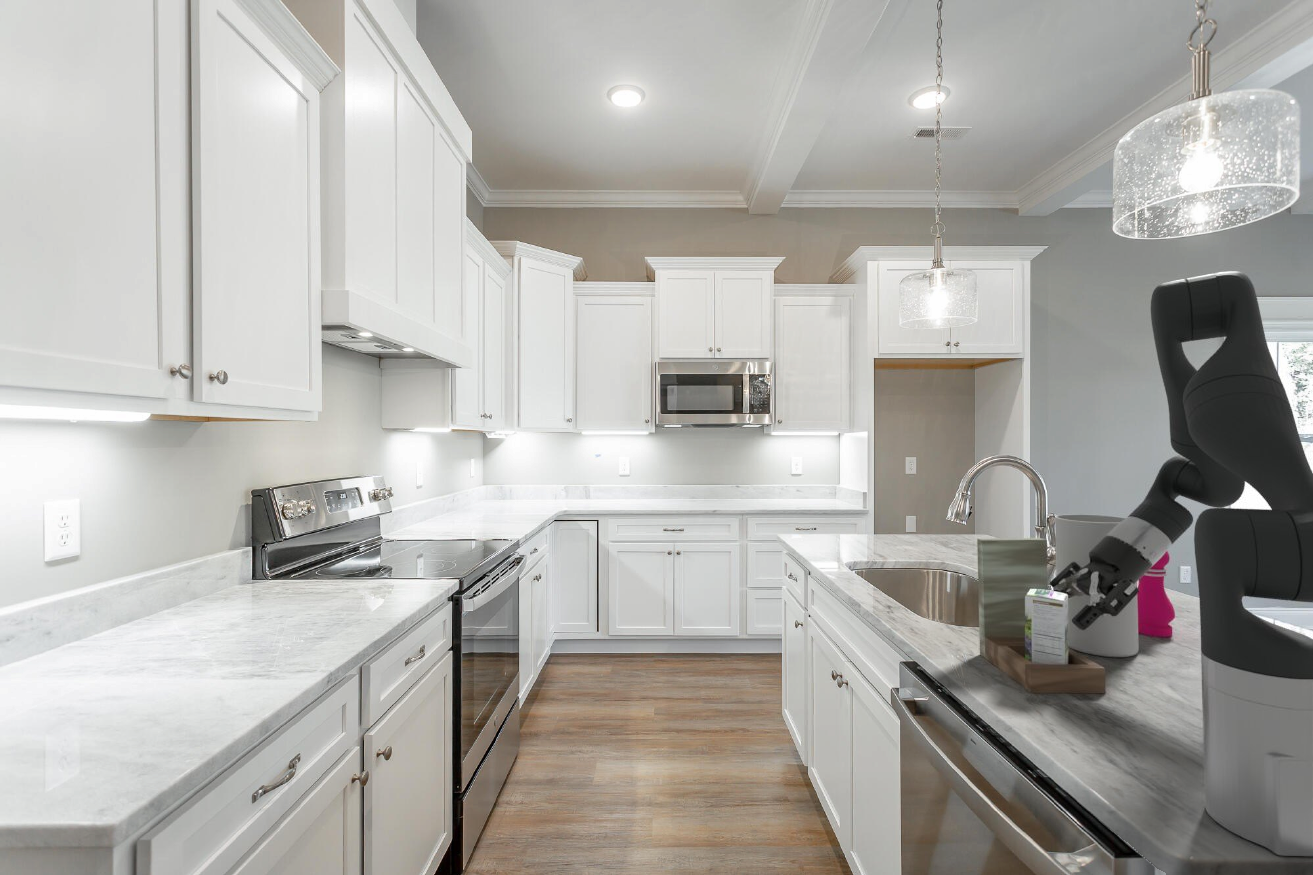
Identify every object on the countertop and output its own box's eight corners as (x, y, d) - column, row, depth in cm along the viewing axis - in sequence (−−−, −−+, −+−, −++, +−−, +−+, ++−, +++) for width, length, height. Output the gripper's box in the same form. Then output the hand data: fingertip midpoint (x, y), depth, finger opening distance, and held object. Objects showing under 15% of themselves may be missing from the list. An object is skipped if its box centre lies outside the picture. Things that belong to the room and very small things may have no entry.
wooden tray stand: (1105, 693, 92) (1102, 555, 93) (1030, 692, 93) (1027, 556, 93) (1043, 654, 109) (1040, 538, 109) (979, 654, 110) (977, 538, 110)
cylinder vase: (1148, 648, 111) (1145, 518, 111) (1125, 664, 104) (1121, 525, 104) (1072, 631, 121) (1070, 512, 122) (1046, 644, 114) (1043, 518, 114)
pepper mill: (1170, 629, 121) (1168, 534, 122) (1180, 640, 115) (1177, 539, 115) (1126, 624, 125) (1124, 532, 125) (1133, 634, 119) (1131, 537, 119)
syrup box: (1029, 669, 103) (1027, 587, 103) (1070, 677, 99) (1068, 592, 99) (1025, 679, 98) (1022, 594, 98) (1067, 688, 95) (1065, 599, 95)
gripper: (1084, 528, 105) (1020, 591, 106) (1145, 541, 91) (1071, 615, 92) (1115, 556, 105) (1051, 620, 106) (1181, 575, 91) (1106, 648, 91)
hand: (1060, 617), depth 99 cm, fingers open, 8 cm apart
